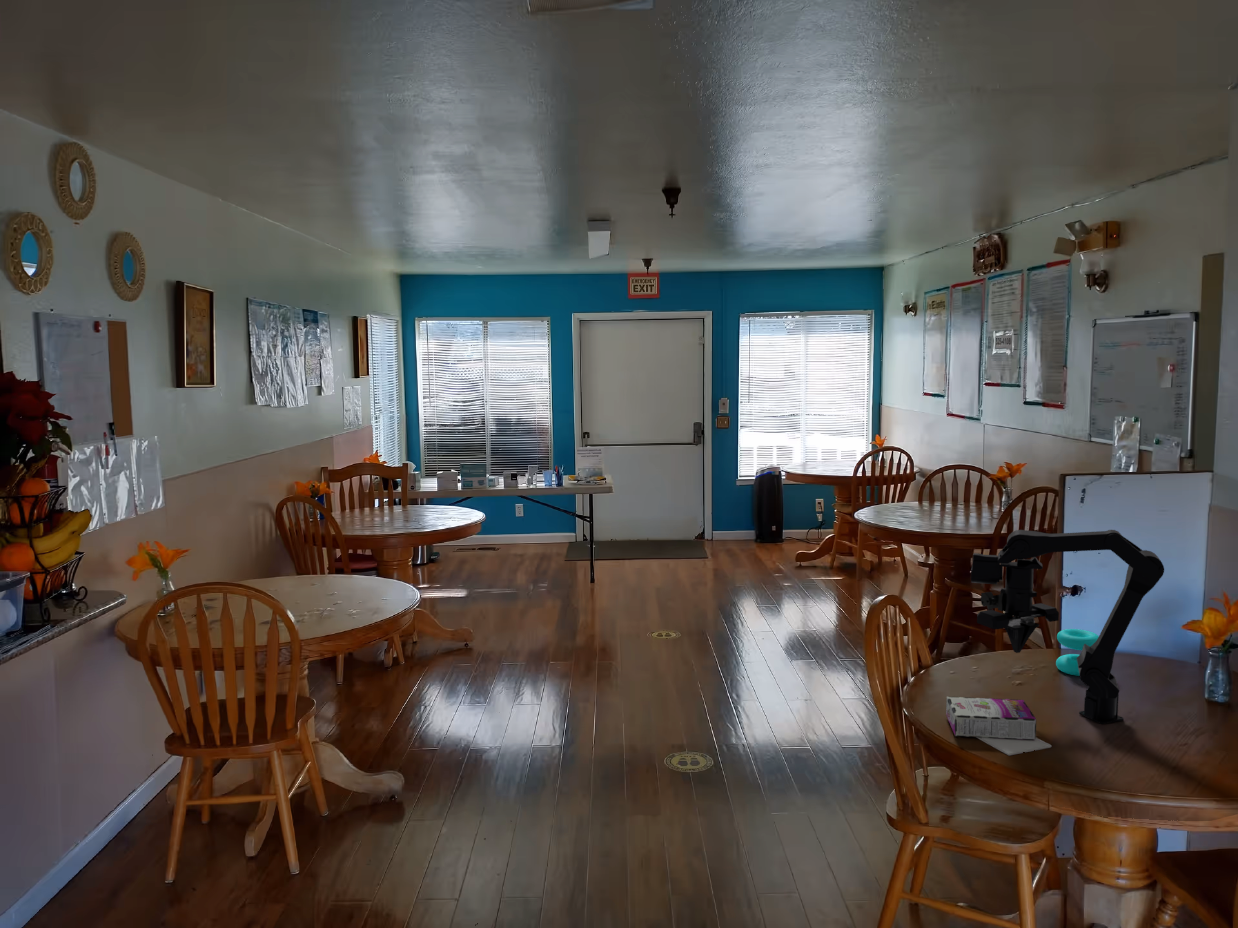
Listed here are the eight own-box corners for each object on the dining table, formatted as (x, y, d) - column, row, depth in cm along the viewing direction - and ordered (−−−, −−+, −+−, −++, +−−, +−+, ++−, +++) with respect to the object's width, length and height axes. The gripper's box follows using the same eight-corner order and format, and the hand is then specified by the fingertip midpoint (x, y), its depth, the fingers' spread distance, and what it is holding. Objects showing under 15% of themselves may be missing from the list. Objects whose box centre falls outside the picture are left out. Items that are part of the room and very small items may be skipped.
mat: (1008, 725, 198) (1008, 723, 198) (1051, 747, 187) (1051, 745, 187) (968, 732, 195) (968, 731, 194) (1008, 755, 183) (1008, 753, 183)
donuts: (1050, 627, 235) (1088, 627, 235) (1048, 664, 236) (1087, 664, 236) (1068, 639, 225) (1108, 639, 225) (1067, 678, 226) (1107, 677, 226)
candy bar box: (1023, 720, 199) (945, 716, 203) (1024, 699, 199) (946, 694, 202) (1036, 742, 189) (953, 736, 192) (1037, 719, 188) (954, 714, 191)
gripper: (1025, 574, 216) (1023, 637, 218) (961, 582, 210) (959, 646, 212) (1061, 585, 205) (1059, 651, 207) (995, 593, 199) (993, 661, 201)
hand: (1016, 652), depth 207 cm, fingers closed
